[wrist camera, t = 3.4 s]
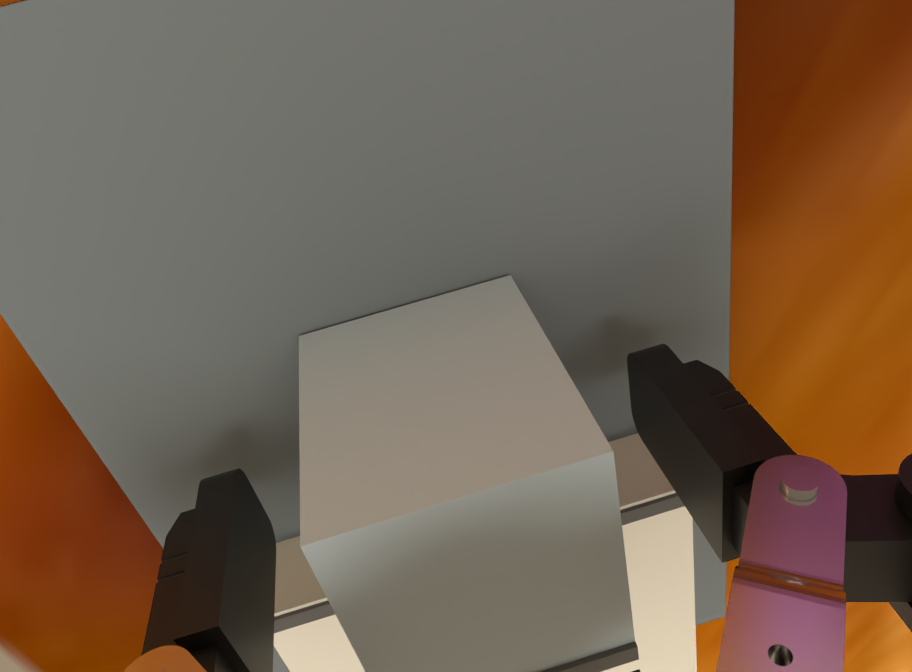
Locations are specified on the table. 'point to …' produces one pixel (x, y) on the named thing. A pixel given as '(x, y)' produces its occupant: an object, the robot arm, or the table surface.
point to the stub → (460, 492)
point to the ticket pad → (362, 232)
